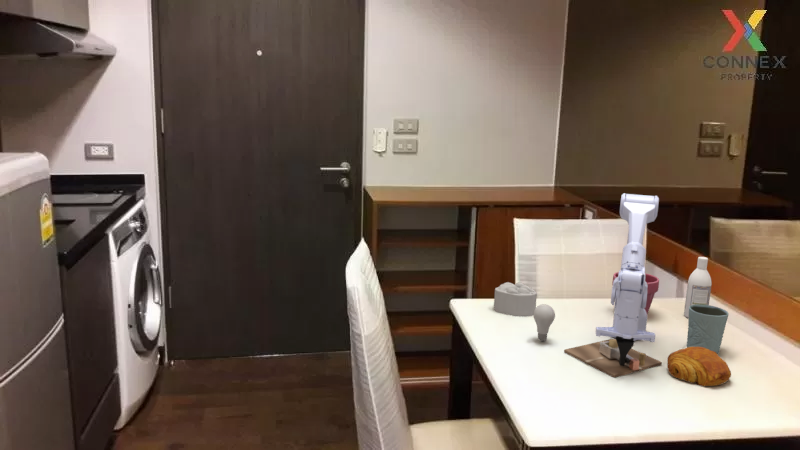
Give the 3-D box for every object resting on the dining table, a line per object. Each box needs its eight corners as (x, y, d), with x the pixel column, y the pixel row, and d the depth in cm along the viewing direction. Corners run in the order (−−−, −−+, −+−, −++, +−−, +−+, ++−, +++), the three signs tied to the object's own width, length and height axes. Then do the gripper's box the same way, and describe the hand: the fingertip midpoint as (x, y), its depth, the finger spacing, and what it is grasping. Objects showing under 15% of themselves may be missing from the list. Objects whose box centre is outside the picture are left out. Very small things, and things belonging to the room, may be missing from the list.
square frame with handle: (599, 351, 183) (600, 342, 183) (615, 350, 185) (616, 340, 184) (627, 370, 171) (628, 360, 171) (643, 369, 173) (645, 359, 172)
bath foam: (711, 320, 215) (719, 260, 210) (692, 321, 213) (700, 260, 209) (697, 313, 221) (705, 254, 217) (679, 314, 220) (686, 255, 215)
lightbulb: (553, 346, 189) (556, 309, 187) (531, 343, 190) (533, 307, 188) (552, 338, 195) (555, 302, 193) (531, 336, 196) (534, 300, 194)
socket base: (610, 341, 194) (612, 324, 193) (663, 365, 178) (665, 347, 177) (562, 352, 185) (564, 334, 184) (614, 379, 169) (616, 359, 168)
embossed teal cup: (678, 349, 190) (683, 309, 187) (691, 340, 197) (696, 301, 195) (715, 360, 183) (721, 318, 181) (727, 350, 190) (733, 310, 188)
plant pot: (617, 304, 228) (621, 267, 225) (660, 313, 220) (664, 276, 217) (603, 315, 216) (607, 277, 214) (647, 325, 208) (652, 286, 206)
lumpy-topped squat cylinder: (502, 302, 225) (504, 278, 223) (539, 310, 219) (541, 285, 217) (490, 311, 216) (492, 285, 215) (529, 319, 210) (531, 293, 208)
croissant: (655, 376, 177) (655, 348, 175) (700, 361, 182) (700, 333, 181) (698, 399, 164) (698, 369, 162) (745, 382, 169) (745, 353, 167)
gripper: (599, 316, 169) (594, 367, 172) (659, 322, 167) (653, 373, 169) (597, 308, 176) (592, 356, 179) (654, 313, 173) (648, 362, 176)
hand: (621, 364), depth 175 cm, fingers closed, pressing on square frame with handle
